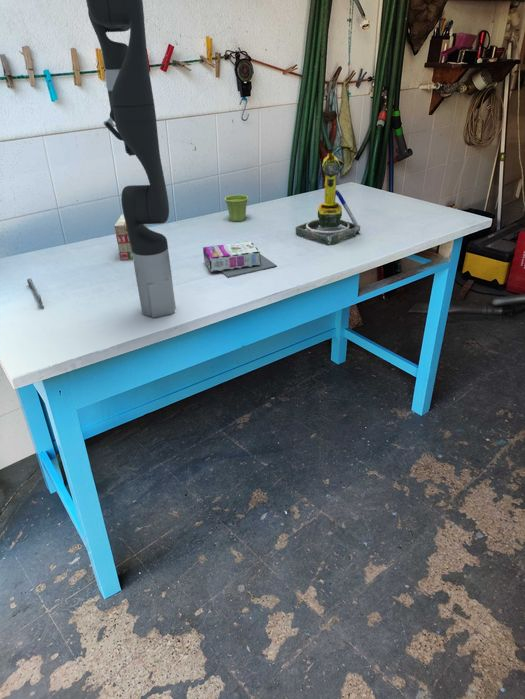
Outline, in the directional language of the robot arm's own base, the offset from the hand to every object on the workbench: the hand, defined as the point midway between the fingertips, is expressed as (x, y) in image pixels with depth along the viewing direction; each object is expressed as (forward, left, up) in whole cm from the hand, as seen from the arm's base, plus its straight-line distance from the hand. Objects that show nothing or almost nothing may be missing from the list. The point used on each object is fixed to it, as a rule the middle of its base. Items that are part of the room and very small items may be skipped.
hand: (131, 154), depth 150 cm
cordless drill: (-3, -66, -35) cm, 75 cm away
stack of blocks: (+21, -1, -35) cm, 41 cm away
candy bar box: (-10, -16, -32) cm, 37 cm away
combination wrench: (-4, +35, -36) cm, 50 cm away
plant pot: (+32, -46, -35) cm, 66 cm away
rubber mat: (-10, -28, -35) cm, 46 cm away
